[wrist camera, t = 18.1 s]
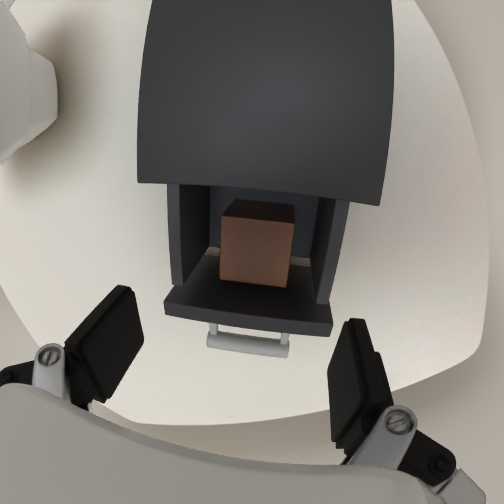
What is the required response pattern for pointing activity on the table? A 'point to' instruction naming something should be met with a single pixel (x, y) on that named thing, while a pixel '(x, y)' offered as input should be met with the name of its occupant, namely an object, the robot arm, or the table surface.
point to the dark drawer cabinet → (268, 96)
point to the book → (8, 3)
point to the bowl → (23, 88)
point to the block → (256, 242)
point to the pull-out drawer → (247, 294)
